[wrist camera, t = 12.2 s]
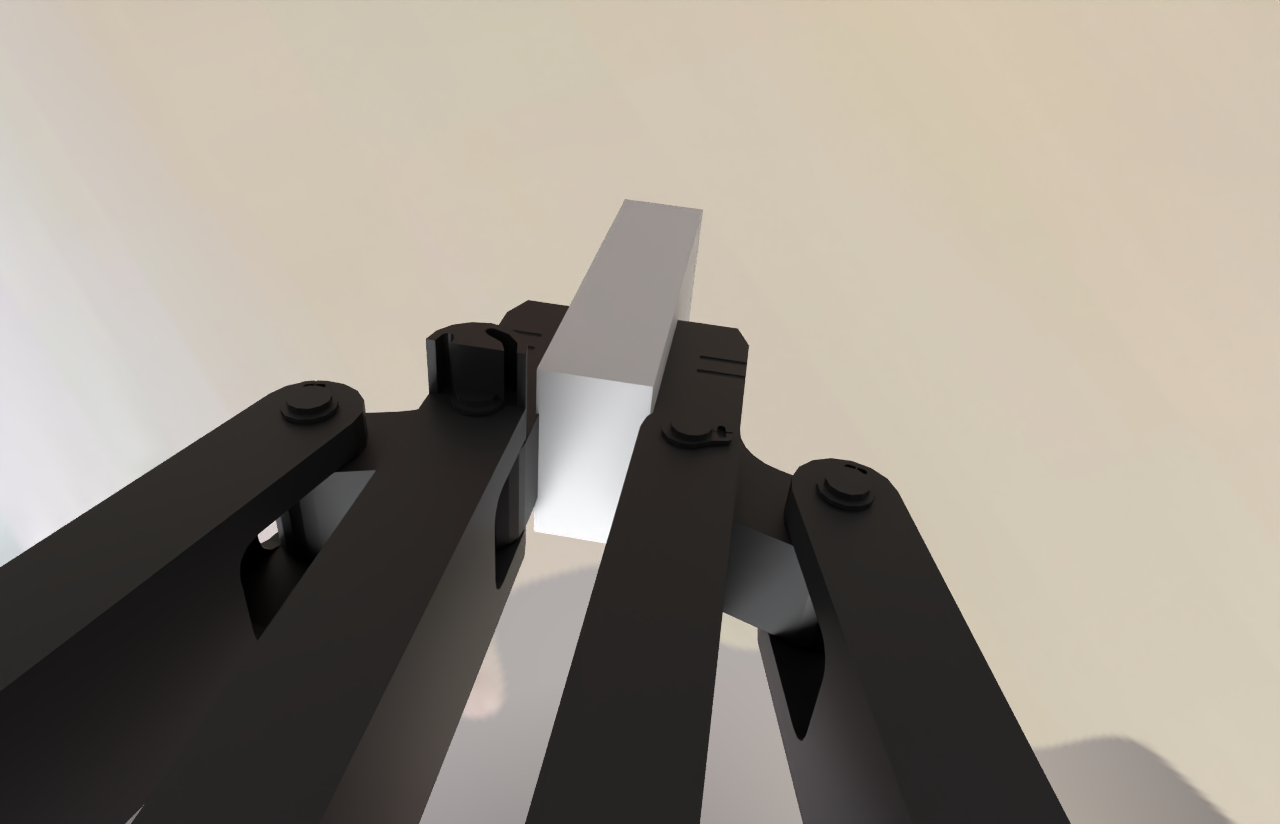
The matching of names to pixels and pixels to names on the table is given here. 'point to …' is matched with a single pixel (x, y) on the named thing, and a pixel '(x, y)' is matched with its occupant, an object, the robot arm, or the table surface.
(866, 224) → the table surface
